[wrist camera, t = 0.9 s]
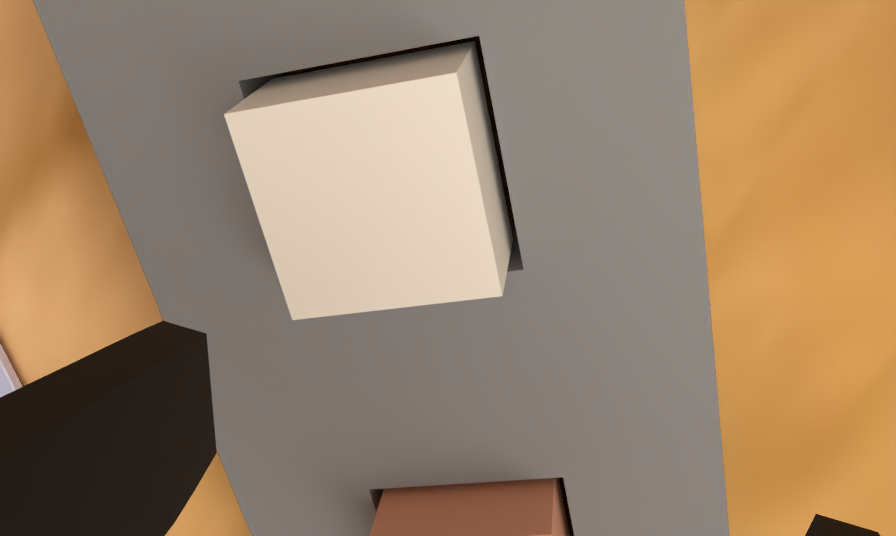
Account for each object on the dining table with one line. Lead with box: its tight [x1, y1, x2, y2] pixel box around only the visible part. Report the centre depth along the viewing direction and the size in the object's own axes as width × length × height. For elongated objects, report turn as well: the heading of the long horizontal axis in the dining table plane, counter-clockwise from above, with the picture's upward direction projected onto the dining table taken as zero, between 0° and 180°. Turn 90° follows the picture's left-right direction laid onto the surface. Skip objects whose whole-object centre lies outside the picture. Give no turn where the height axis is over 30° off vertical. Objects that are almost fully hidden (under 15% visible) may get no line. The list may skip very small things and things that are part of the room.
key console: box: [33, 0, 729, 536], centre depth 23 cm, size 14×24×3 cm, turn 12°
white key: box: [224, 41, 513, 320], centre depth 19 cm, size 5×5×3 cm
